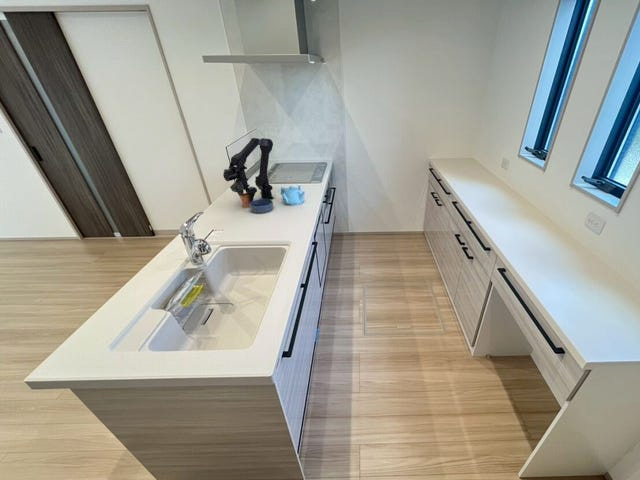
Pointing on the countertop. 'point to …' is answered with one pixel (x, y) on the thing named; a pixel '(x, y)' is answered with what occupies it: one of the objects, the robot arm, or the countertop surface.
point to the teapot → (292, 195)
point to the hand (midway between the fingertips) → (247, 201)
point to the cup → (245, 200)
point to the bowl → (261, 205)
